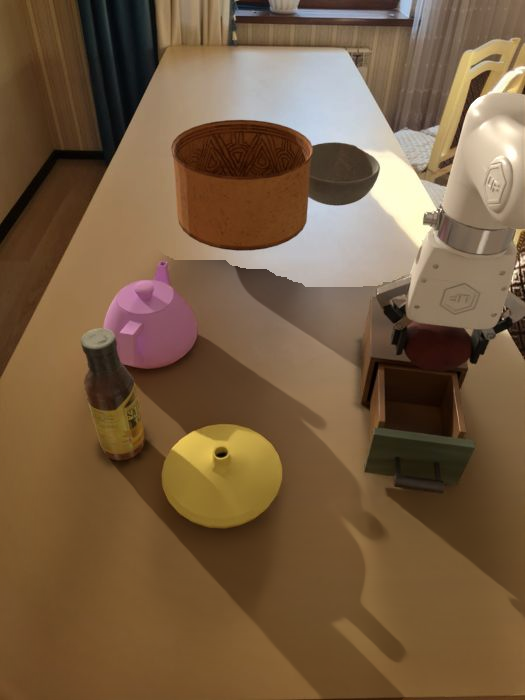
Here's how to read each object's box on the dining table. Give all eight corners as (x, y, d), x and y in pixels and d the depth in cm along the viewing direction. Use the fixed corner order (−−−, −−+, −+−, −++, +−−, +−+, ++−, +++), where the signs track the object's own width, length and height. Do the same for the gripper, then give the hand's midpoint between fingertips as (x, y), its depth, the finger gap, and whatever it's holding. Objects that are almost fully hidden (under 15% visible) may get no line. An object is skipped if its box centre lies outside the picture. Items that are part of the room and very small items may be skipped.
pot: (263, 286, 106) (265, 191, 92) (153, 244, 116) (141, 153, 102) (326, 226, 123) (337, 138, 109) (226, 194, 133) (224, 110, 120)
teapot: (181, 394, 84) (174, 336, 76) (85, 383, 86) (68, 325, 77) (210, 307, 100) (207, 252, 92) (129, 299, 102) (119, 244, 93)
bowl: (275, 203, 131) (276, 163, 124) (318, 173, 143) (321, 135, 136) (349, 228, 122) (355, 187, 116) (387, 195, 135) (395, 155, 128)
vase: (271, 548, 66) (273, 518, 61) (147, 526, 68) (139, 496, 63) (289, 446, 77) (291, 414, 73) (182, 429, 79) (178, 397, 74)
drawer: (461, 514, 69) (480, 477, 63) (363, 500, 70) (373, 462, 65) (447, 409, 82) (462, 371, 76) (365, 399, 83) (373, 360, 78)
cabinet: (450, 415, 82) (468, 368, 75) (360, 404, 84) (370, 357, 77) (441, 351, 93) (457, 305, 86) (362, 342, 94) (371, 295, 87)
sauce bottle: (146, 460, 75) (124, 356, 62) (100, 465, 74) (68, 362, 61) (146, 423, 80) (125, 320, 66) (102, 428, 79) (73, 325, 66)
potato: (446, 394, 64) (459, 357, 60) (385, 362, 68) (394, 325, 64) (473, 362, 68) (487, 326, 64) (415, 333, 72) (425, 297, 68)
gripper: (389, 238, 53) (363, 364, 65) (573, 256, 51) (512, 382, 63) (387, 202, 59) (364, 324, 70) (554, 217, 57) (501, 340, 69)
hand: (434, 351), depth 67 cm, fingers closed on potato, 8 cm apart
